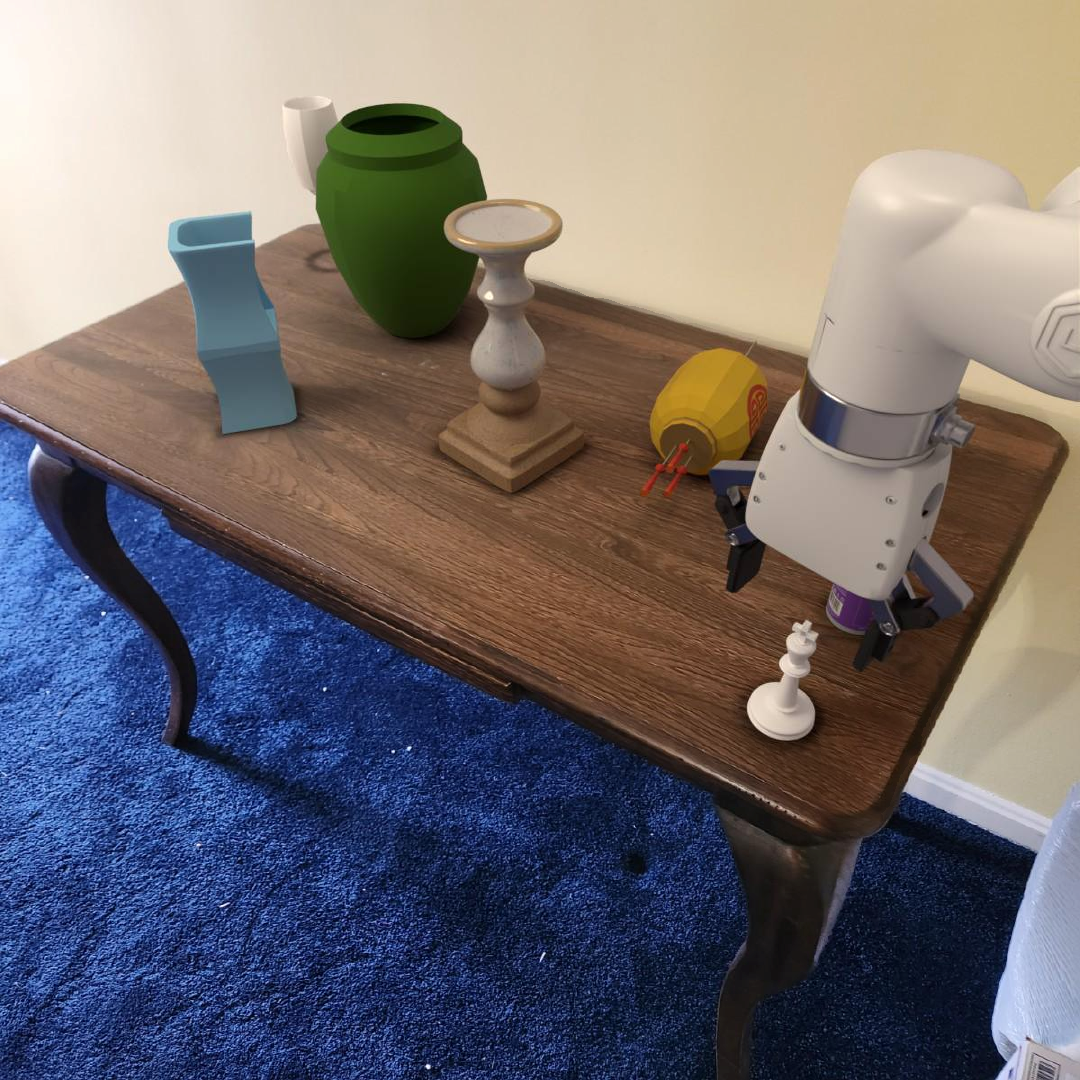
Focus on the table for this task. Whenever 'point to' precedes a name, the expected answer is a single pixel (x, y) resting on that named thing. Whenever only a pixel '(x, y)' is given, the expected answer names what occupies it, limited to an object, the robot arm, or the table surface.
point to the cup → (307, 135)
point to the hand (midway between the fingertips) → (802, 618)
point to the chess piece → (787, 691)
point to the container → (849, 610)
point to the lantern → (707, 413)
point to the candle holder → (507, 351)
